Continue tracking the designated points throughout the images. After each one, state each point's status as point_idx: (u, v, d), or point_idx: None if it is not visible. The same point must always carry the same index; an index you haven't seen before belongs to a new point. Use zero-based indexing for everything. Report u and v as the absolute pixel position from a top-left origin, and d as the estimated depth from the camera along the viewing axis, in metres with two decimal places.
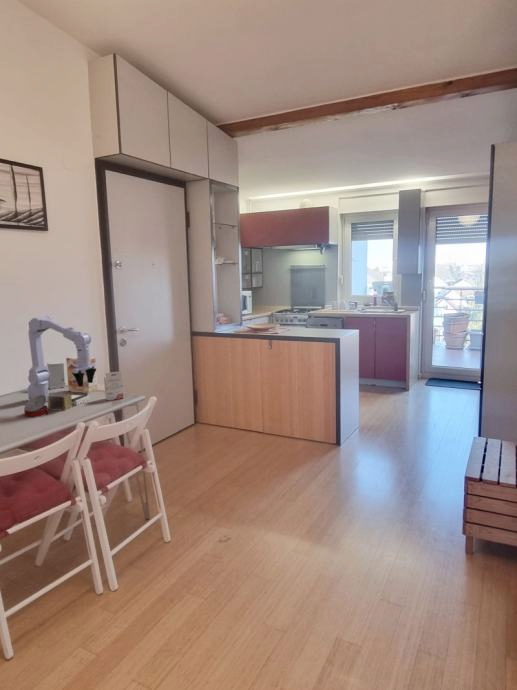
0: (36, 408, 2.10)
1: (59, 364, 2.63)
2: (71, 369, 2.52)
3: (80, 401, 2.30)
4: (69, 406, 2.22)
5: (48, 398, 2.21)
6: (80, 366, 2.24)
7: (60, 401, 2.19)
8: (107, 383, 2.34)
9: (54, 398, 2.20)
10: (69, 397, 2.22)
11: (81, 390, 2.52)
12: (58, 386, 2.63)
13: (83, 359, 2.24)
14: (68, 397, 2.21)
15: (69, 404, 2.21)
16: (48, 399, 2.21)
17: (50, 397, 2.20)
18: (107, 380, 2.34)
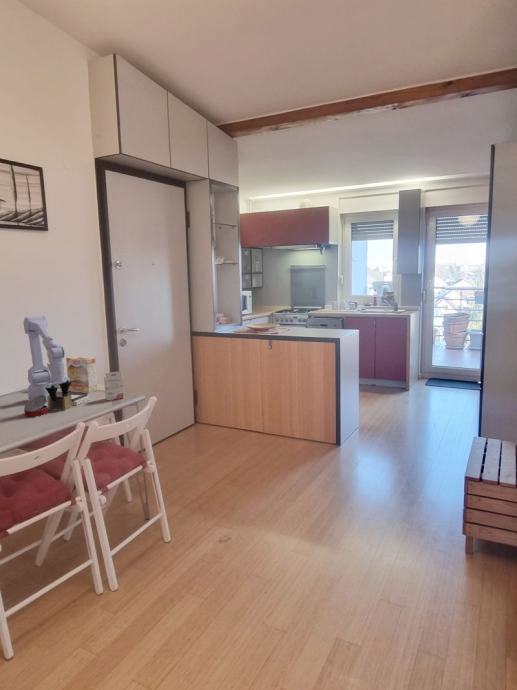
0: (36, 408, 2.10)
1: None
2: (71, 369, 2.52)
3: (80, 401, 2.30)
4: (69, 406, 2.22)
5: (48, 398, 2.21)
6: (53, 380, 2.18)
7: (60, 401, 2.19)
8: (107, 383, 2.34)
9: None
10: (69, 397, 2.22)
11: (81, 390, 2.52)
12: (58, 386, 2.63)
13: (56, 373, 2.17)
14: (68, 397, 2.21)
15: (69, 404, 2.21)
16: (48, 399, 2.21)
17: (50, 397, 2.20)
18: (107, 380, 2.34)
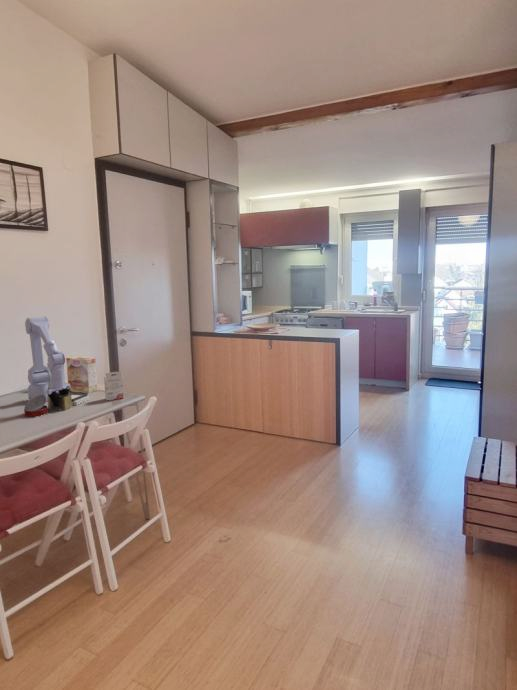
0: (36, 408, 2.10)
1: None
2: (71, 369, 2.52)
3: (80, 401, 2.30)
4: (69, 406, 2.22)
5: (48, 398, 2.21)
6: (54, 386, 2.18)
7: (60, 401, 2.19)
8: (107, 383, 2.34)
9: None
10: (69, 397, 2.22)
11: (81, 390, 2.52)
12: None
13: (57, 379, 2.18)
14: (68, 397, 2.21)
15: (69, 404, 2.21)
16: (48, 399, 2.21)
17: None
18: (107, 380, 2.34)
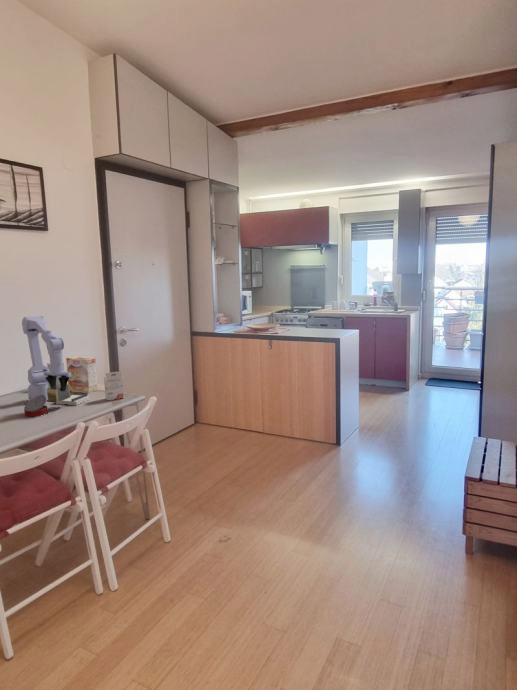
0: (36, 408, 2.10)
1: None
2: (71, 369, 2.52)
3: (80, 401, 2.30)
4: (53, 400, 2.17)
5: None
6: None
7: None
8: (107, 383, 2.34)
9: None
10: (53, 391, 2.16)
11: (81, 390, 2.52)
12: None
13: (50, 364, 2.19)
14: (52, 391, 2.16)
15: (52, 397, 2.17)
16: None
17: None
18: (107, 380, 2.34)
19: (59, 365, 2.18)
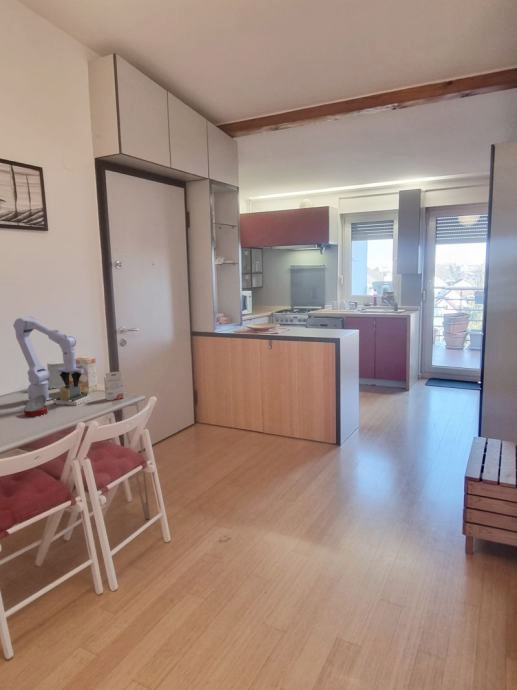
0: (36, 408, 2.10)
1: (59, 364, 2.63)
2: None
3: (80, 401, 2.30)
4: (65, 398, 2.28)
5: None
6: None
7: None
8: (107, 383, 2.34)
9: None
10: (65, 390, 2.27)
11: (81, 390, 2.52)
12: (58, 386, 2.63)
13: (63, 361, 2.30)
14: (64, 390, 2.27)
15: (64, 396, 2.27)
16: None
17: None
18: (107, 380, 2.34)
19: (72, 362, 2.29)
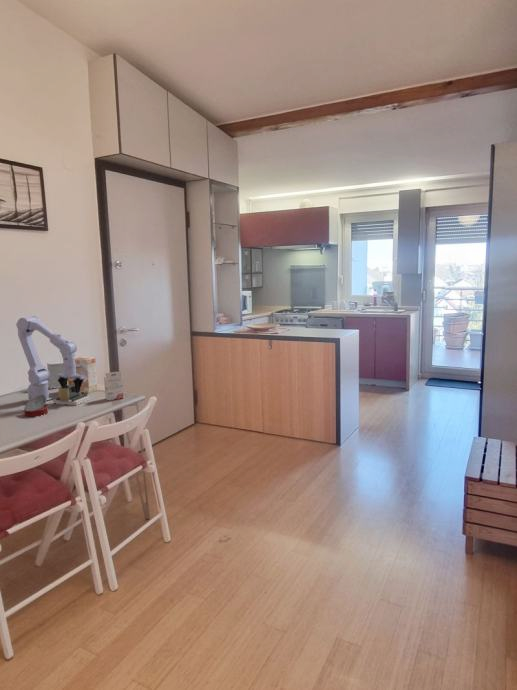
0: (36, 408, 2.10)
1: (59, 364, 2.63)
2: None
3: (80, 401, 2.30)
4: (64, 399, 2.28)
5: None
6: None
7: None
8: (107, 383, 2.34)
9: None
10: (64, 390, 2.27)
11: (81, 390, 2.52)
12: (58, 386, 2.63)
13: None
14: (63, 390, 2.27)
15: (64, 396, 2.28)
16: None
17: None
18: (107, 380, 2.34)
19: (72, 368, 2.30)
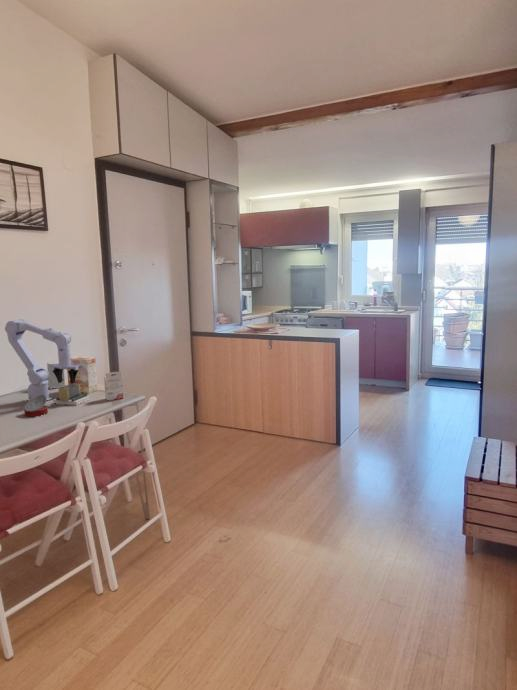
0: (36, 408, 2.10)
1: None
2: None
3: (80, 401, 2.30)
4: (64, 399, 2.28)
5: None
6: None
7: None
8: (107, 383, 2.34)
9: None
10: (64, 390, 2.27)
11: (81, 390, 2.52)
12: (58, 386, 2.63)
13: None
14: (63, 390, 2.27)
15: (64, 396, 2.28)
16: None
17: None
18: (107, 380, 2.34)
19: (67, 359, 2.32)
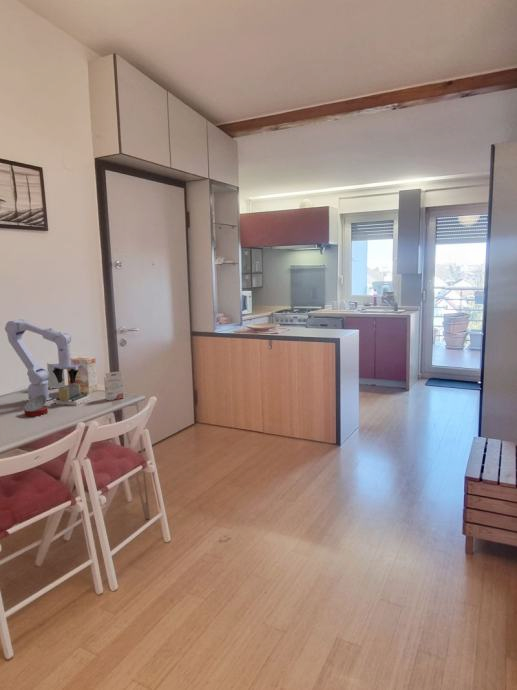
0: (36, 408, 2.10)
1: None
2: None
3: (80, 401, 2.30)
4: (64, 399, 2.28)
5: None
6: None
7: None
8: (107, 383, 2.34)
9: None
10: (64, 390, 2.27)
11: (81, 390, 2.52)
12: (58, 386, 2.63)
13: None
14: (63, 390, 2.27)
15: (64, 396, 2.28)
16: None
17: None
18: (107, 380, 2.34)
19: (67, 359, 2.32)
